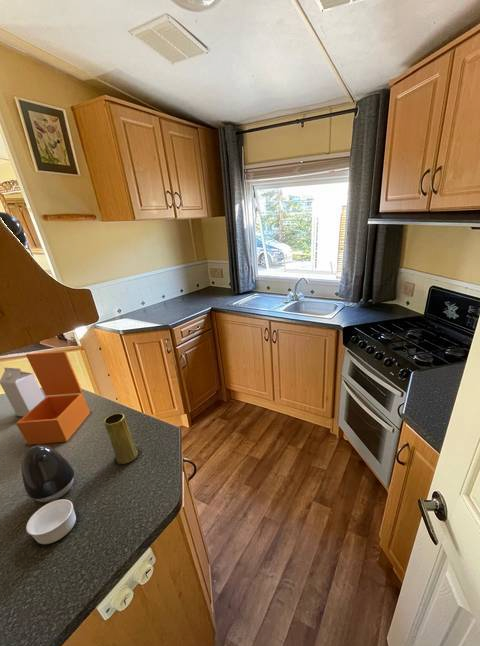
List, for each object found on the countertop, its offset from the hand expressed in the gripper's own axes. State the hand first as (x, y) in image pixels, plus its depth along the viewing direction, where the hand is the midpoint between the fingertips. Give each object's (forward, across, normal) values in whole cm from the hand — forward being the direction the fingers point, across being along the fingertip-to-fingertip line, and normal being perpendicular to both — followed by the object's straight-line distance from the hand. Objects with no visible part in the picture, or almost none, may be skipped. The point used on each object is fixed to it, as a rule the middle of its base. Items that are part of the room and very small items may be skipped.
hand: (47, 326), depth 104 cm
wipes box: (+32, +18, +3) cm, 37 cm away
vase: (+32, +35, +33) cm, 58 cm away
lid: (+15, +10, +3) cm, 18 cm away
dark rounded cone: (+32, +46, +18) cm, 59 cm away
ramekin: (+32, +57, +24) cm, 70 cm away
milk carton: (+32, +5, -14) cm, 36 cm away
